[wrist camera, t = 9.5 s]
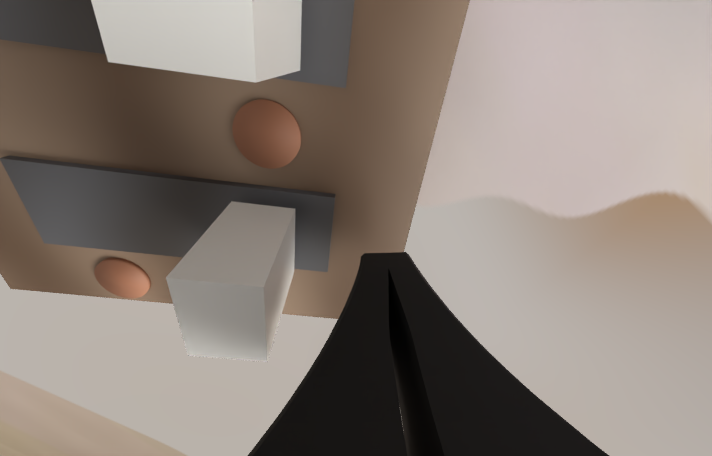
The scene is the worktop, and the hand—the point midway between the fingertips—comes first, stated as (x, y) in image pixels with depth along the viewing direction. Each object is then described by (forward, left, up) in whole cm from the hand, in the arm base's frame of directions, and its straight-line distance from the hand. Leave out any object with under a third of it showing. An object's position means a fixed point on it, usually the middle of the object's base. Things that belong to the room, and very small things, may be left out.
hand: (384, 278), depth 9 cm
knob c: (+4, 0, -1) cm, 4 cm away
